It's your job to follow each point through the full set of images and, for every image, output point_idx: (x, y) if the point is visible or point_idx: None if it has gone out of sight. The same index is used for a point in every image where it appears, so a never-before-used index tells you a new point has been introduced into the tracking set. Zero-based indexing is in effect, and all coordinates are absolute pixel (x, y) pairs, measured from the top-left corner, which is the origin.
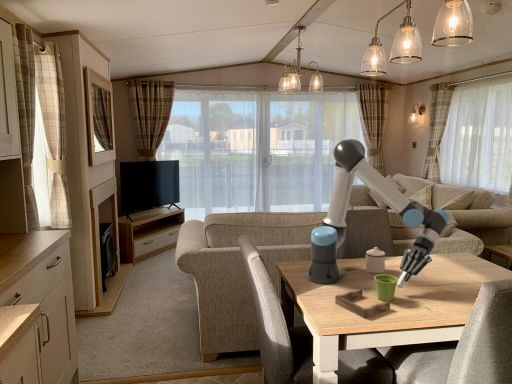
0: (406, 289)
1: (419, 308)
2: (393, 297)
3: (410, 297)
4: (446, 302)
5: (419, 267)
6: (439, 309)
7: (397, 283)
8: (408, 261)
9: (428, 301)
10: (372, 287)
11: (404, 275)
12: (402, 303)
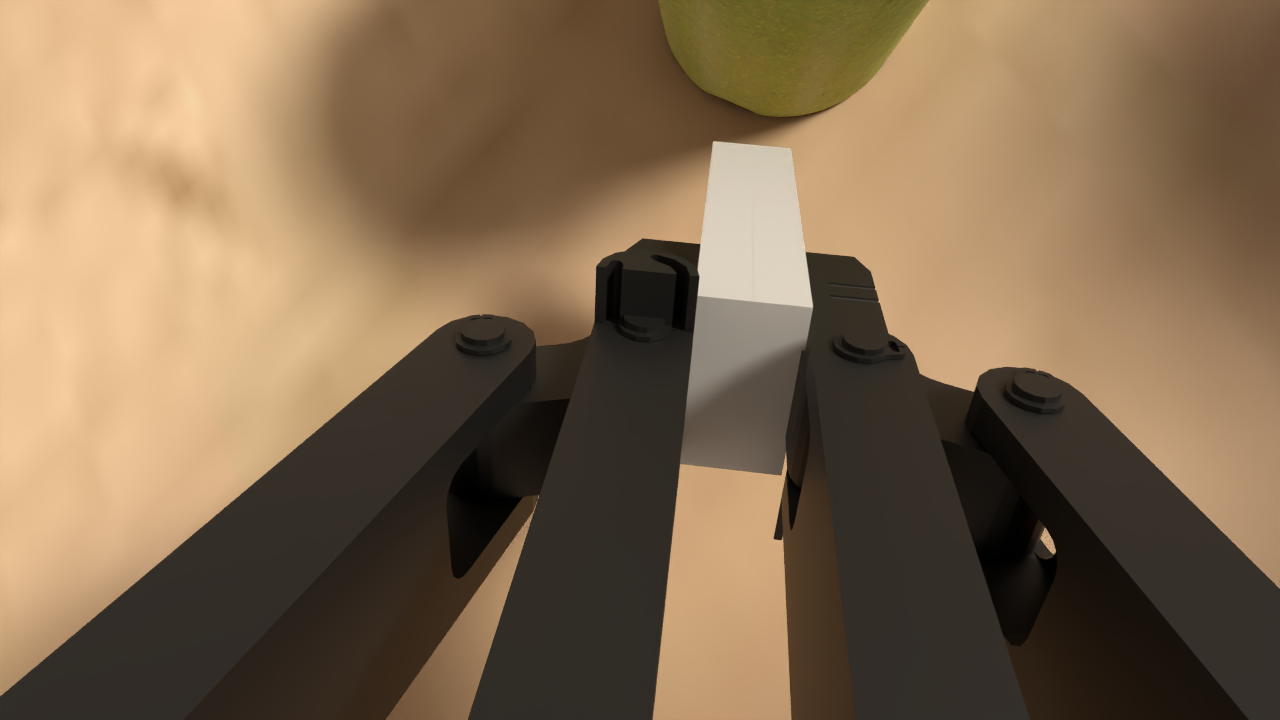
0: (785, 608)
1: (262, 99)
2: (665, 28)
3: (545, 340)
4: (34, 619)
5: (269, 514)
6: (36, 282)
7: (762, 152)
8: (922, 631)
9: (268, 422)
10: (1209, 212)
11: (707, 243)
12: (513, 60)
